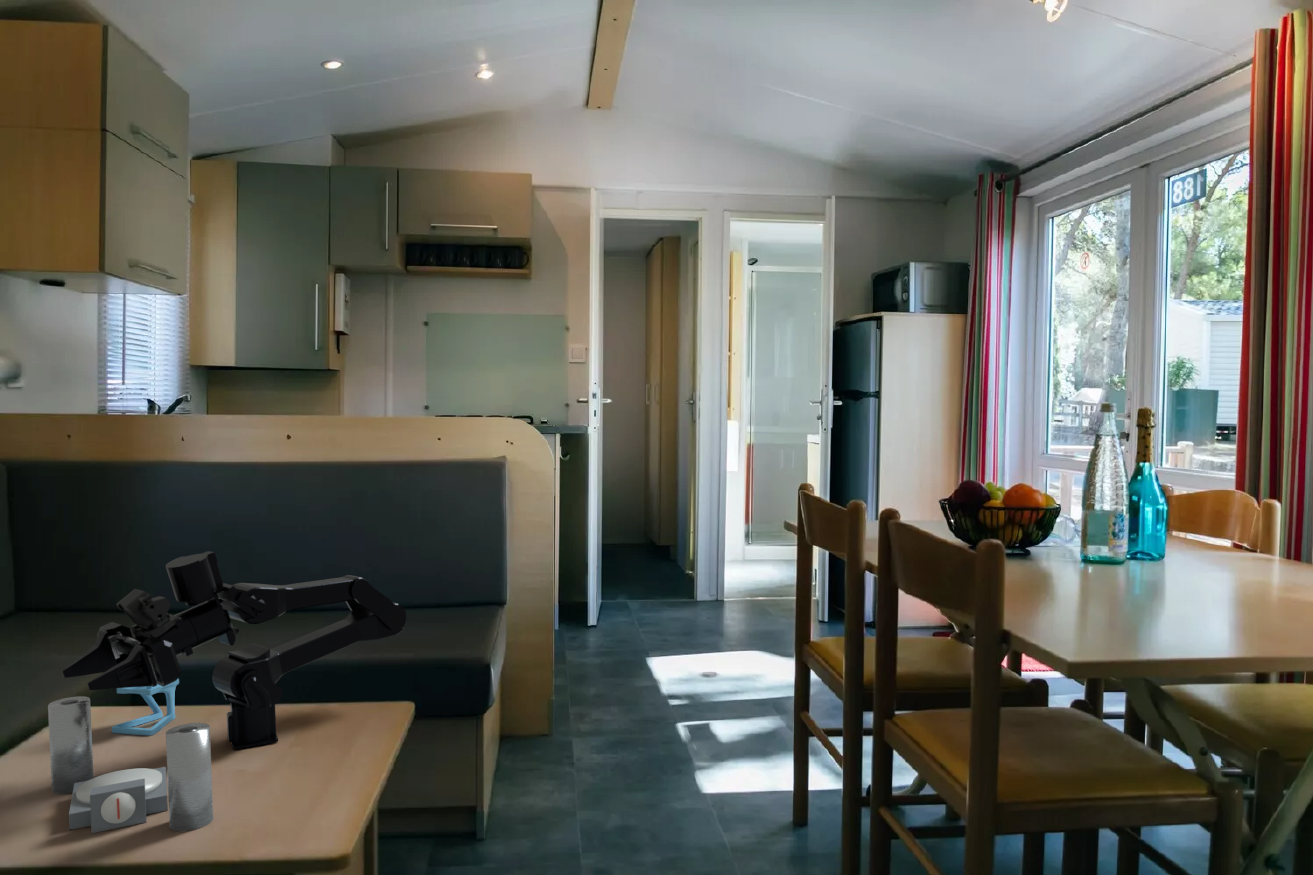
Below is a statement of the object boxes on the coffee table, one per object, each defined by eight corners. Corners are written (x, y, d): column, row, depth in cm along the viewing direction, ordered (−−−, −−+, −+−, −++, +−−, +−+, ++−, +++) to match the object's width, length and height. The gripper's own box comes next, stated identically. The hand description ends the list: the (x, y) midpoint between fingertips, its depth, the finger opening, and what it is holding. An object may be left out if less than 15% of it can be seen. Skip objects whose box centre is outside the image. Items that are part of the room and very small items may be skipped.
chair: (187, 718, 160) (185, 648, 159) (150, 735, 151) (148, 661, 151) (148, 716, 161) (146, 646, 161) (110, 732, 153) (107, 659, 153)
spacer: (94, 776, 135) (90, 694, 135) (93, 789, 131) (89, 703, 130) (53, 783, 133) (49, 699, 132) (50, 797, 129) (46, 710, 128)
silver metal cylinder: (212, 810, 124) (208, 719, 123) (214, 825, 119) (210, 731, 119) (169, 818, 121) (165, 726, 121) (170, 834, 117) (166, 739, 116)
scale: (166, 780, 134) (164, 747, 133) (168, 818, 121) (166, 782, 121) (75, 797, 128) (73, 762, 128) (67, 839, 116) (66, 801, 116)
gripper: (144, 573, 144) (32, 617, 133) (200, 588, 133) (82, 637, 121) (165, 639, 147) (57, 687, 136) (222, 659, 135) (109, 714, 124)
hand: (75, 680), depth 129 cm, fingers open, 9 cm apart
